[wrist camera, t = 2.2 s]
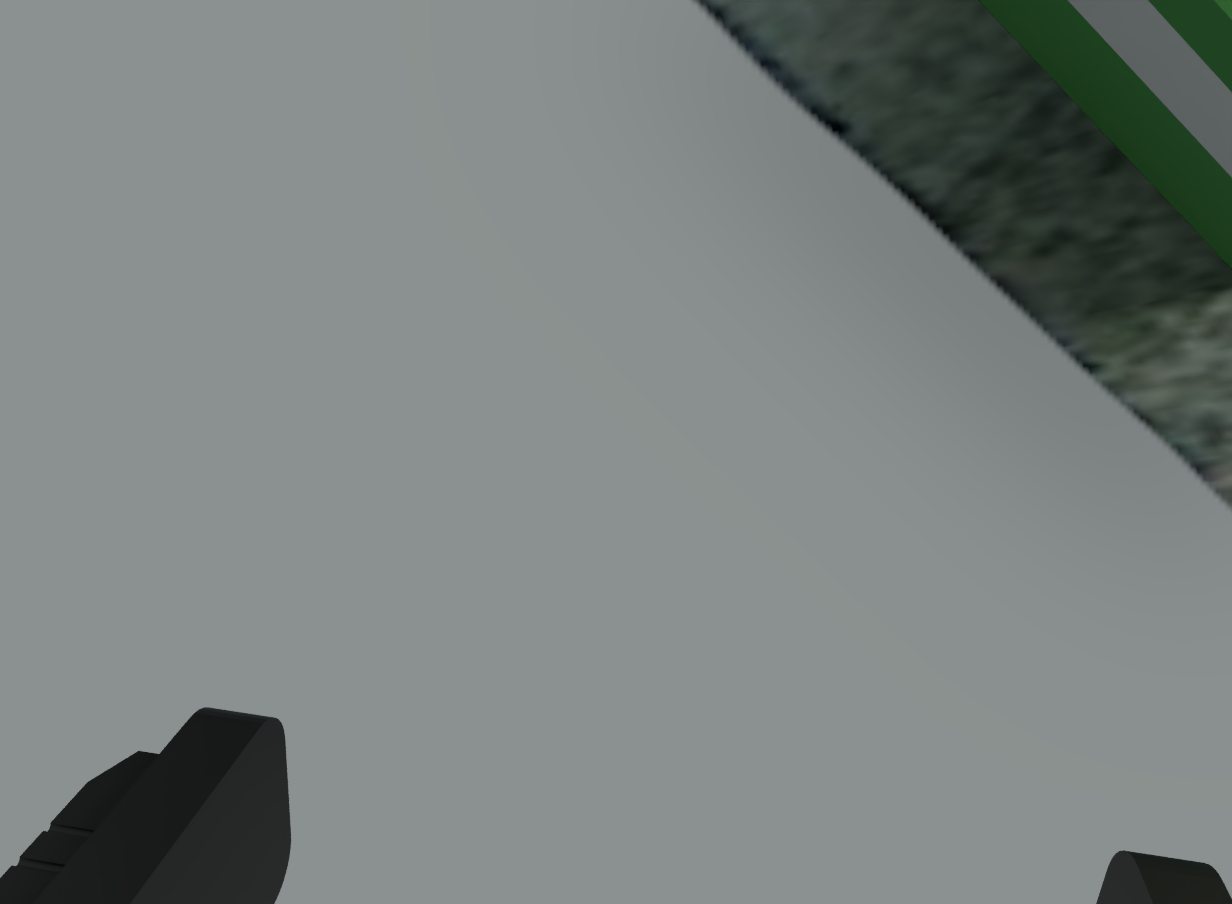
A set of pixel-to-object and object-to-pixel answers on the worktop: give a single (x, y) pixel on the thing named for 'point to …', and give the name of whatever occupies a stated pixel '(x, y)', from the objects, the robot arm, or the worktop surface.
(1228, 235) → the hardback book
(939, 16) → the worktop surface
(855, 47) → the worktop surface
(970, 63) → the worktop surface
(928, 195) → the worktop surface
